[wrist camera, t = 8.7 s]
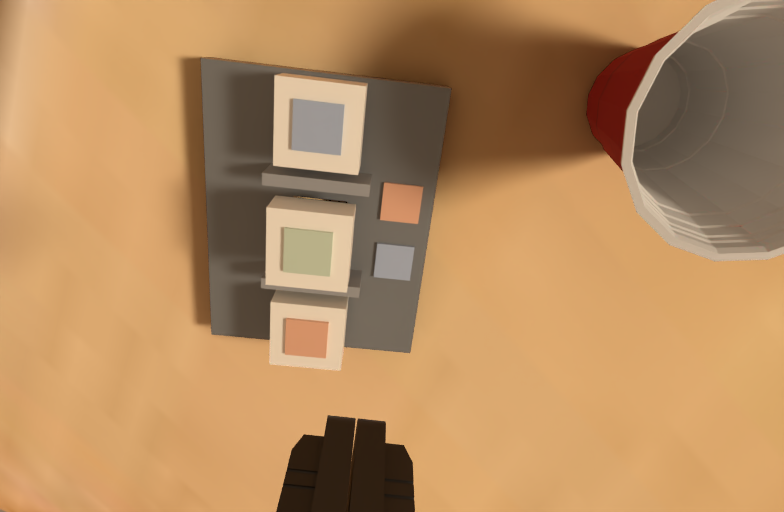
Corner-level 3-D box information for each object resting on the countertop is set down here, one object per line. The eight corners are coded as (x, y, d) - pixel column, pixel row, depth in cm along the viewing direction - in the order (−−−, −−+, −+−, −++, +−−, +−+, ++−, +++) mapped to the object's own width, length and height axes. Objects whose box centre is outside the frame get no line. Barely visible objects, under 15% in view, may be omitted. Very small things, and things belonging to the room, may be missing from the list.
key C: (283, 274, 33) (269, 303, 29) (350, 281, 33) (345, 311, 29) (281, 332, 35) (268, 366, 31) (345, 338, 35) (340, 372, 31)
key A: (288, 71, 28) (273, 75, 24) (369, 81, 28) (365, 86, 24) (286, 151, 30) (272, 166, 26) (361, 160, 30) (357, 176, 26)
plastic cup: (621, -44, 26) (789, -109, 15) (763, 64, 28) (1000, 76, 17) (504, 133, 30) (571, 184, 19) (637, 216, 32) (767, 306, 21)
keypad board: (209, 57, 28) (182, 59, 24) (448, 86, 29) (457, 92, 25) (218, 322, 35) (198, 355, 32) (409, 341, 36) (411, 374, 32)
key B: (281, 187, 29) (265, 208, 25) (357, 196, 29) (353, 217, 26) (279, 257, 31) (264, 286, 27) (351, 265, 31) (346, 294, 27)
